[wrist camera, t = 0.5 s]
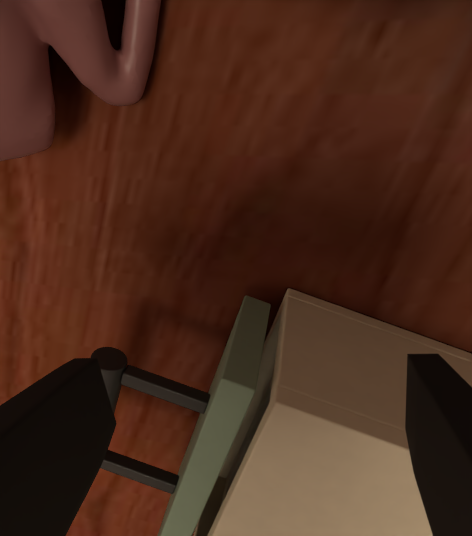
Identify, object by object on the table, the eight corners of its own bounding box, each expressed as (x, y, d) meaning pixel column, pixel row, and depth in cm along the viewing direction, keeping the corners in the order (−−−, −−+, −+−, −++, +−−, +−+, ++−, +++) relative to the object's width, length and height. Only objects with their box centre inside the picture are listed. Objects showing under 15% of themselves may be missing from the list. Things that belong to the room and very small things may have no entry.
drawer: (96, 435, 25) (37, 535, 19) (139, 256, 20) (77, 326, 14) (413, 550, 25) (441, 682, 19) (538, 400, 20) (620, 522, 14)
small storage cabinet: (209, 470, 26) (172, 618, 19) (288, 286, 20) (275, 401, 13) (452, 557, 26) (502, 738, 19) (596, 397, 20) (743, 571, 13)
